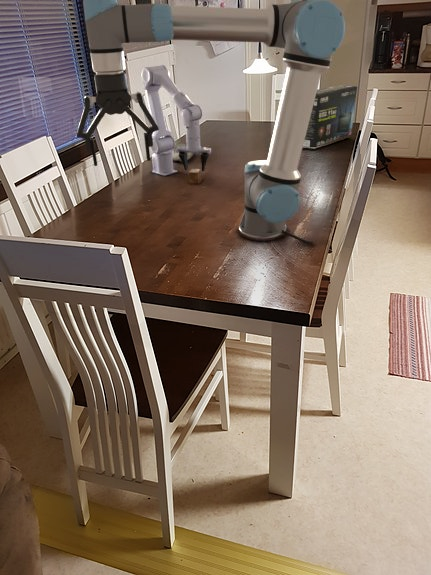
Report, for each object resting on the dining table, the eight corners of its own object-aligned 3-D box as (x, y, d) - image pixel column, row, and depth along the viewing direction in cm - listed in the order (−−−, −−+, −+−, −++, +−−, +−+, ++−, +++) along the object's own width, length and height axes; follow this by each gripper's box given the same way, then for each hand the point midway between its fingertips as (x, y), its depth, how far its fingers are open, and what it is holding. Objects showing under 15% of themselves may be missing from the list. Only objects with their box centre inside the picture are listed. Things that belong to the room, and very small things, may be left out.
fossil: (184, 156, 217) (163, 136, 220) (174, 174, 223) (154, 154, 227) (205, 153, 231) (186, 134, 234) (195, 171, 237) (176, 152, 240)
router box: (314, 151, 231) (318, 94, 217) (296, 148, 237) (299, 92, 224) (352, 138, 251) (358, 85, 238) (335, 135, 258) (340, 83, 245)
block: (201, 180, 199) (201, 169, 196) (198, 183, 194) (197, 172, 192) (192, 179, 200) (192, 168, 197) (189, 183, 195) (188, 172, 193)
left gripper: (212, 135, 189) (213, 168, 196) (179, 134, 192) (181, 166, 200) (207, 139, 183) (209, 173, 190) (173, 138, 187) (176, 171, 194)
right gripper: (160, 67, 114) (167, 153, 125) (56, 74, 109) (73, 162, 120) (164, 70, 107) (171, 161, 118) (54, 77, 103) (72, 170, 114)
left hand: (194, 169), depth 194 cm, fingers open, 7 cm apart
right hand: (122, 162), depth 119 cm, fingers open, 13 cm apart
